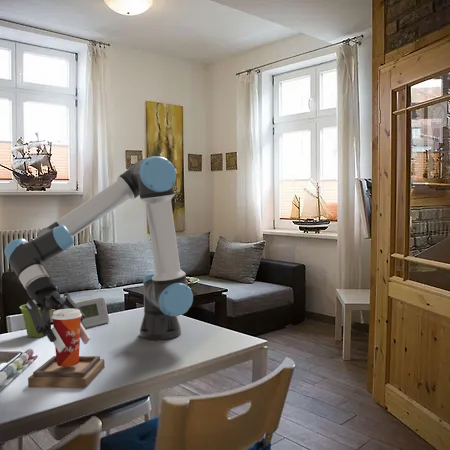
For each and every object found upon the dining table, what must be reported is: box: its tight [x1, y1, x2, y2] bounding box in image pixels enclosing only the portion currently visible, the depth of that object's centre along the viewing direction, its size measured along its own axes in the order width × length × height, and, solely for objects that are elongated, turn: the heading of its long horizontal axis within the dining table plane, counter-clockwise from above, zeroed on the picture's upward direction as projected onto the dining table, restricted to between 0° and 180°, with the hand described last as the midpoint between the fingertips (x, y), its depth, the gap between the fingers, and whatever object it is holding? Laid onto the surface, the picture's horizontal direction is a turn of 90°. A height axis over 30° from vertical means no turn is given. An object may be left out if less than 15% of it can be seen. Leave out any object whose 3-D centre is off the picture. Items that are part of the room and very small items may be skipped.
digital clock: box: [73, 296, 110, 329], centre depth 198 cm, size 16×9×11 cm, turn 130°
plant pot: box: [19, 303, 52, 338], centre depth 185 cm, size 12×12×11 cm
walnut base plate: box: [27, 355, 105, 389], centre depth 141 cm, size 16×16×4 cm
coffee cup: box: [50, 309, 82, 367], centre depth 141 cm, size 8×8×15 cm
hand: (75, 345), depth 139 cm, fingers closed on coffee cup, 8 cm apart
